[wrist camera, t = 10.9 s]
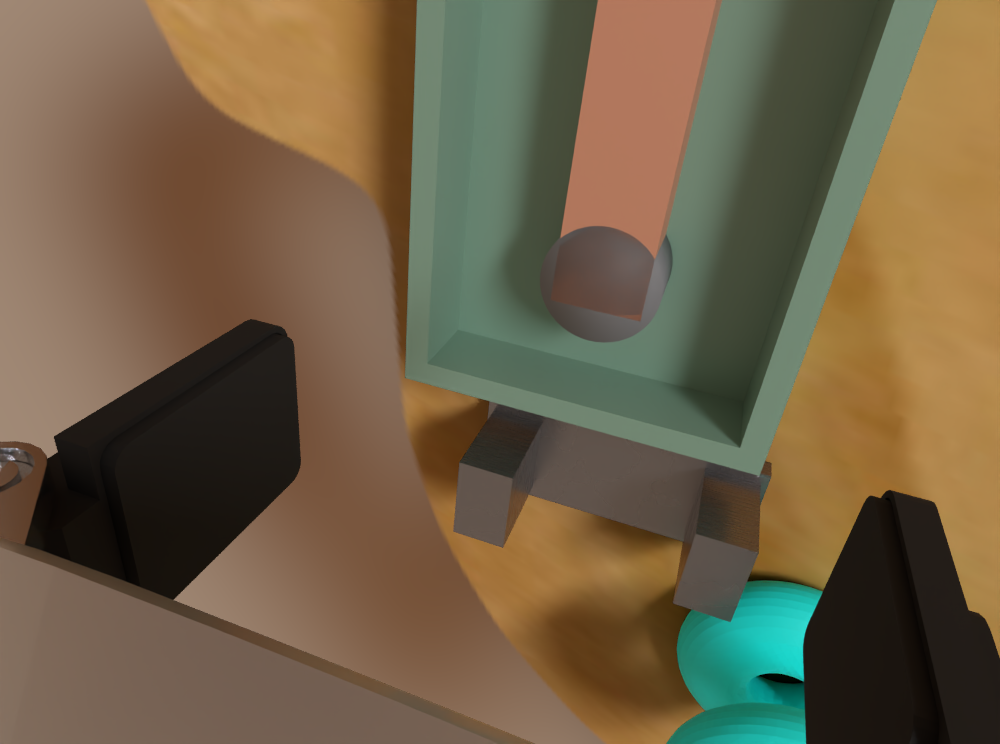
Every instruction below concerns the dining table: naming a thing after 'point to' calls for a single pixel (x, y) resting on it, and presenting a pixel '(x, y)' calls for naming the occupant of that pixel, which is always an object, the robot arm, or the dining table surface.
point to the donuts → (747, 667)
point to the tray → (692, 226)
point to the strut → (627, 165)
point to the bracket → (617, 497)
